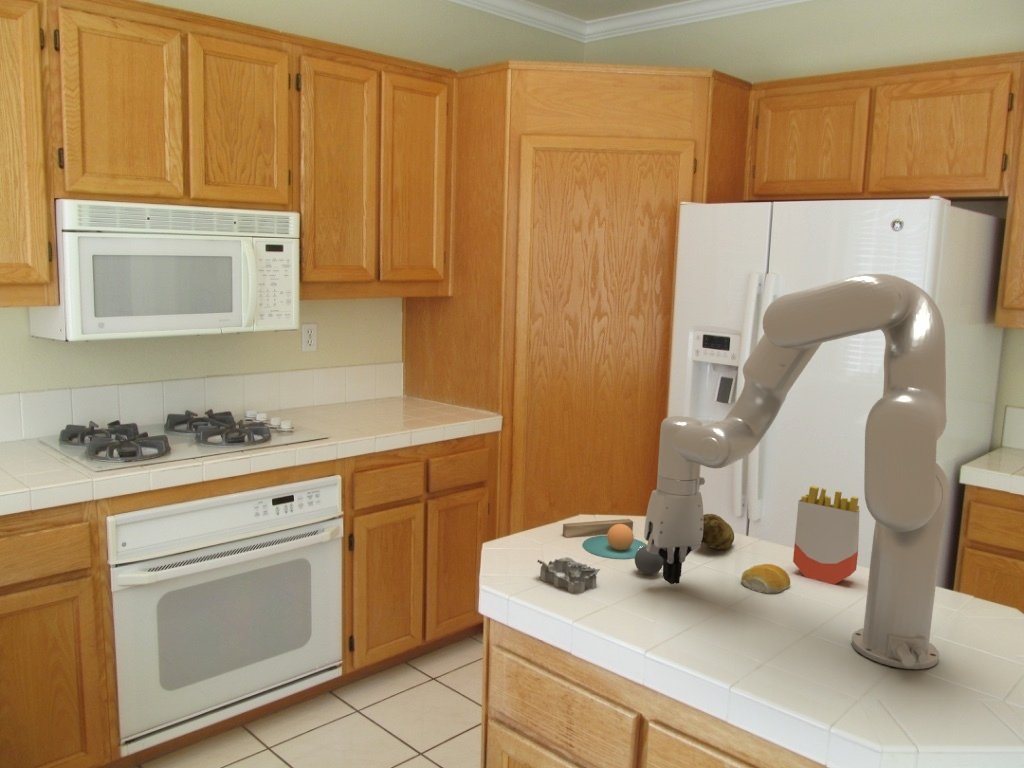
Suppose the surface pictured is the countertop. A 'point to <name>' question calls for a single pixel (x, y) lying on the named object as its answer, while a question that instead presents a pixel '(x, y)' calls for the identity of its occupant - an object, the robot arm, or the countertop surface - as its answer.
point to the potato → (717, 532)
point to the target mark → (610, 548)
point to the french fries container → (826, 536)
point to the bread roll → (766, 578)
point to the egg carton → (569, 574)
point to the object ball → (620, 537)
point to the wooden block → (593, 527)
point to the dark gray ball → (648, 561)
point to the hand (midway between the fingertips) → (671, 581)
